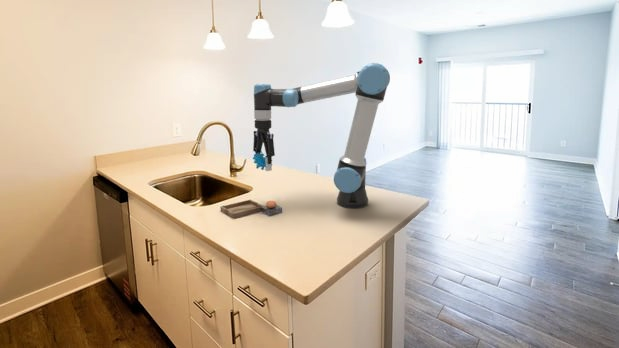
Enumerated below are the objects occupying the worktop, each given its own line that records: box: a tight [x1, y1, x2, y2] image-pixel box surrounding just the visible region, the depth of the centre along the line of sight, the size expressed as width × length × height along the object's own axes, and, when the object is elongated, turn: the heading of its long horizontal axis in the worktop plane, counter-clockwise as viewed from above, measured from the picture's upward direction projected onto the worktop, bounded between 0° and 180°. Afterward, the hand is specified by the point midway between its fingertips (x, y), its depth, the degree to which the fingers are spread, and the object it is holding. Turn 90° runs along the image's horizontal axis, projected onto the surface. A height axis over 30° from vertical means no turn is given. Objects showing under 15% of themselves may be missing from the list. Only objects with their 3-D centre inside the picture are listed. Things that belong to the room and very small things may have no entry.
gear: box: [252, 152, 266, 171], centre depth 162 cm, size 11×6×10 cm
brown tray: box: [219, 199, 264, 220], centre depth 159 cm, size 13×16×2 cm
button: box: [265, 200, 277, 209], centre depth 156 cm, size 4×4×3 cm
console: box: [260, 204, 283, 217], centre depth 157 cm, size 7×7×2 cm
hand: (263, 168), depth 162 cm, fingers closed on gear, 8 cm apart
